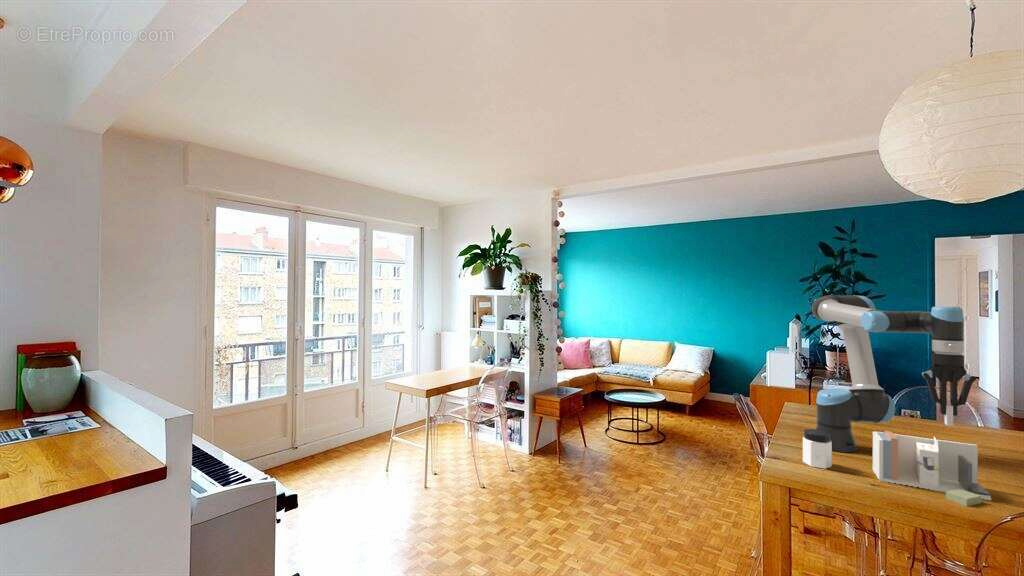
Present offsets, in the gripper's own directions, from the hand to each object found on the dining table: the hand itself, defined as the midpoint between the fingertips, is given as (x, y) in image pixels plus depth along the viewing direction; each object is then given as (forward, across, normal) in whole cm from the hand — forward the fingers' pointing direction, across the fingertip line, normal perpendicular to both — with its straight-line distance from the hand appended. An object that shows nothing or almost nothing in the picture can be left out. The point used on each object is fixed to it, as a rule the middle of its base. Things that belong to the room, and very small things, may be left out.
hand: (948, 424), depth 144 cm
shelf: (+21, -5, +2) cm, 22 cm away
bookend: (+20, +6, +1) cm, 21 cm away
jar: (+21, -36, +1) cm, 41 cm away
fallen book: (+22, +1, -8) cm, 23 cm away
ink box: (+20, -5, +1) cm, 21 cm away
